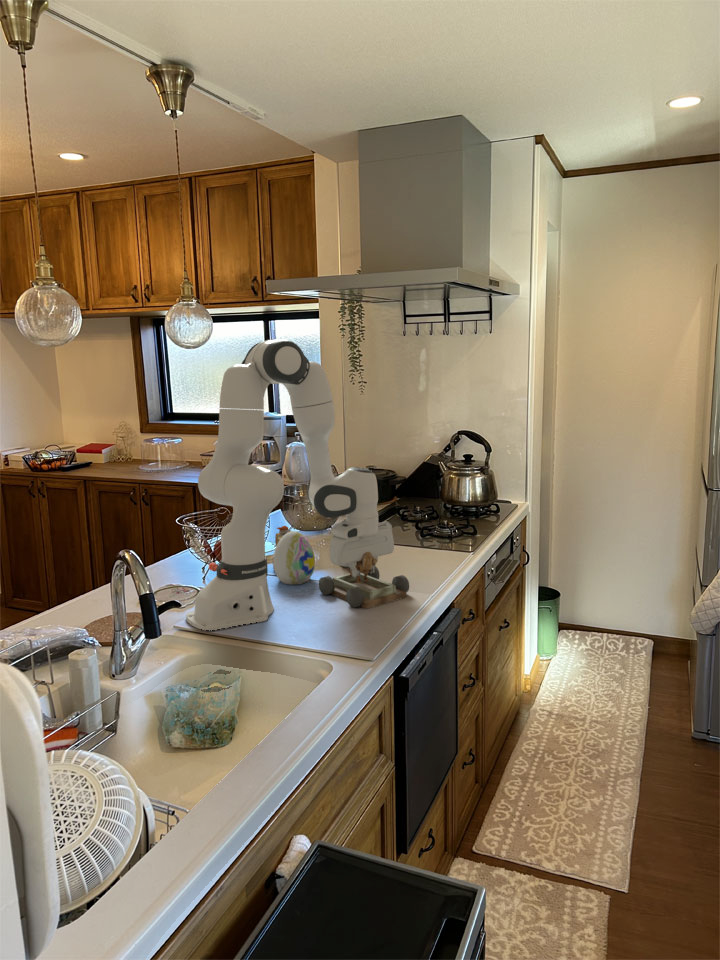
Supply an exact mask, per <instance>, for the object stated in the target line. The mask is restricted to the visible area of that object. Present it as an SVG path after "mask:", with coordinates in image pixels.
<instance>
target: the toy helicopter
mask: <svg viewBox="0 0 720 960" xmlns="http://www.w3.org/2000/svg"><path fill="white" fill-rule="evenodd" d="M276 529H277V530H279V531H278V532H277V533H275V536H274V538H275V547H276V546H277V544H278V542H279V541H280V539H281V538H282V537H283V536H284V535H285V534H286V533H288V532H290V531H292V530H290V529H289V527H288V526H287V525H282V526H281V527H276ZM273 558H274V555H273ZM273 558H272V559H273ZM272 566H273V571H274V572H275V570H274V565H273V564H272Z"/></svg>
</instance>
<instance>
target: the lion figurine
mask: <svg viewBox="0 0 720 960" xmlns="http://www.w3.org/2000/svg"><path fill="white" fill-rule="evenodd" d="M371 554H372V553H370V552H366V553H365V554H364V555H363V557H362V559H361V561H357V565H355V567H356V569H357V570H359V571H360V573H364V581H366V582H367V581H369V579H367V574H368V572H369V570H370V569H371V568H372V565H373V566H376V565H377V563H378V560H377V559H375V558H374V557H373V556H372V555H371ZM347 570H348V571H349V573H348V574H349V576H350V577H351V576H352V570H351V569H350V567H347ZM360 573H359V574H360ZM357 583H361V579H360V576H358V577H357Z"/></svg>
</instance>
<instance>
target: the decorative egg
mask: <svg viewBox="0 0 720 960" xmlns="http://www.w3.org/2000/svg"><path fill="white" fill-rule="evenodd" d="M273 556H274V558H272V566H273V565H274V568H273V571H274V570H275V571H274V572H275V576H276V577H277V578H278V580H279V581H280V582H281V583H282V584H285V585H301V584H304V583H308V581H310V580H311V577H312V575H313V573H314V571H315V566H316V557H315V554H314V549H313V547H312V544H311V542H310V541H309V540H308V538H306V536H305V535H304V534H302V533H301V532H299V531H295V530H291V531H290V532H288V533H286V534H285V535H284V536H283V537H282V538H281V539H280V541H279V542H278V544H277V546H276V545H275V549H274V552H273Z"/></svg>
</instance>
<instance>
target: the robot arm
mask: <svg viewBox="0 0 720 960" xmlns="http://www.w3.org/2000/svg"><path fill="white" fill-rule="evenodd" d="M270 384H272V385H279V384H282V385H283V386H284V387H285V389H286V390H287V392H288V395H289V397H290V398H289V399H290V406H291V412H292V416H293V419H294V423H295V425H296V426H295V427H296V428H297V430H298V433H299V435H300V437H301V439H302V441H303V444H304V447H305V453H306V458H307V466H308V471H309V480H308V484H307V488H306V498H307V500H308V502H309V504H310V505H311V506H312V507H313V508H314V510H315V511H316V512H317V513H318V514H320V515H321V516H322V517H325V518H330V519H331V518H333V519H334V518H339V517H343V516H345V519H344V520H342V521H341V522H339V523H337V524H336V525H334V526H332V527H331V529H330V534H331V535H332V537H331V539H330V542H329V560H330V563H332V564H333V565H334V566H335V565H336V566H338V567H339V566H341V565H344V564H348V565H349V567H348V568H350V569H351V570H352V576H353V577H358V576H360V574H359V573H360V571H359V570H357V569H356V567H355V565H357V561H361V559H362V557H363V555H364V554H365V553H366V552H370V553H372V554H371V555H372V556H373V557H374V558H375V559H377V560H378V559H379V557H381V556H386V555H391V554H392V553H394V551H395V541H394V535H393V526H392V524H391V523H390V522H389V521H387V520H385V521H382V522H379V511H378V508H377V507H378V506H377V505H378V501H379V492H378V491H379V490H378V489H379V488H378V480H377V476H376V474H375V473H374V472H373V471H372V470H370V469H369V468H365V467H359V466H351V467H349V468H347V469H346V470H345V471H344V472H342V473H341V474H339V475H338V476H335V475H334V472H333V468H332V462H331V461H332V460H331V456H330V449H329V448H330V447H329V440H330V435H331V433H332V432H333V430H334V428H335V423H336V421H335V420H336V419H335V418H336V417H335V415H336V414H335V404H334V398H333V394H332V389H331V386H330V383H329V379H328V377H327V374H326V371H325V368H324V367H323V366H322V365H321V364H320V363H318V362H316V361H313V360H312V361H310V360H309V359H308V358H307V357H306V355H305V353H304V351H303V350H302V349H301V348H300V346H299V345H298V344H297V343H295V342H293V341H292V340H289V339H284V338H280V339H274V338H273V339H266V340H264V341H260V342H257V343H256V344H254V345H253V346H251V348H250V349H249V350H248V351H247V353H246V355H245V357H244V359H243V360H242V362H241V363H240V364H234V365H232V366H230V367H228V368H227V369H226V370H225V371H224V373H223V377H222V382H221V388H220V394H219V395H220V397H219V412H218V414H219V415H218V435H217V436H218V437H217V443H216V445H215V450H214V451H213V452H214V453H213V454H212V457H211V459H210V460H209V462H208V464H207V465H206V466H205V467H203V468H202V470H201V471H200V473H199V474H198V479H197V485H198V486H197V488H198V491H199V493H200V495H201V496H203V498H205V499H207V500H209V501H210V502H212V503H215V504H216V505H217V504H218V505H223V506H229V507H232V509H233V511H232V515H231V516H232V517H231V520H230V522H229V523H227V524H226V525H225V526H223V528H222V529H221V532H220V541H221V543H220V544H221V547H220V548H221V561H220V562H219V564H217V563H215V562H210V563H209V564H208V569H209V570H210V571H212V572H215V573H216V575H215V577H214V578H213V579H212V580H210V581H209V583H208V584H207V585H205V586H204V587H203V588H202V589H201V590H200V591H199V592H198V593H197V595H196V597H195V601H194V602H195V603H194V610H192V611H189V612H187V613H186V615H185V616H186V617H185V618H186V619H185V620H186V621H187V623H188V624H189V625H190V626H192V627H194V628H196V629H198V630H201V629H202V630H201V631H206V630H209V631H208V632H213V631H212V630H215V631H218V630H217V629H220V630H222V629H221V628H225V629H228V628H227V627H231V628H233V627H232V626H236V627H239V626H238V625H241V626H244V625H243V624H246V625H251V624H250V623H252V624H256V622H257V623H262V622H266V621H267V620H268V618H269V616H270V615H271V614H272V613H273V612H274V610H275V608H274V606H273V605H274V604H273V601H272V599H271V595H270V591H269V585H268V578H267V577H268V572H269V571H268V559H267V557H266V539H265V538H266V534H265V533H266V526H267V522H268V518H269V516H270V514H271V512H272V511H273V509H275V508H276V507H277V506H278V505H279V504H280V502H281V501H282V499H283V496H284V492H285V486H284V485H285V484H284V480H283V478H282V476H281V474H279V473H278V472H276V471H274V470H272V469H270V468H267V467H264V466H261V465H259V466H258V465H253V464H252V465H250V464H249V461H250V457H251V455H252V452H253V450H254V449H255V448H257V447H258V446H260V445H261V443H263V440H264V420H265V419H264V417H265V411H264V410H265V401H264V399H265V394H266V390H267V388H268V387H269V385H270ZM375 566H376V565H375ZM375 566H373V565H372V568H371V569H370V570H369V572H368V573H374V572H375ZM210 630H211V631H210Z"/></svg>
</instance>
